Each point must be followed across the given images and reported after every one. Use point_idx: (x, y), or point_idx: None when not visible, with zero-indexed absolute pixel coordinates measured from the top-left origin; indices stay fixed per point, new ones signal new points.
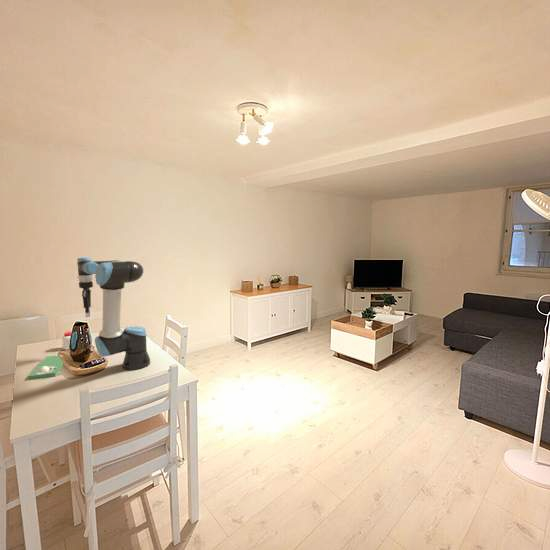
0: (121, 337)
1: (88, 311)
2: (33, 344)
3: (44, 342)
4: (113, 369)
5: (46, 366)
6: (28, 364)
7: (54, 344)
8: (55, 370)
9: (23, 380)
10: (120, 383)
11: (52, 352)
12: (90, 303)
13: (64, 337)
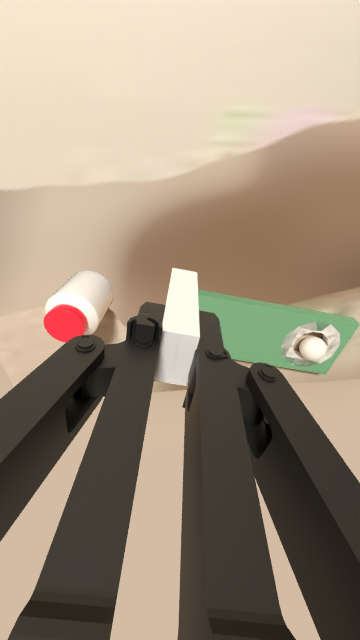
0: None
1: (215, 320)
2: (20, 381)
3: (4, 360)
4: None
5: (318, 351)
6: None
7: (32, 336)
8: (338, 324)
9: (315, 375)
10: None
11: (119, 336)
12: (78, 355)
13: (90, 332)
